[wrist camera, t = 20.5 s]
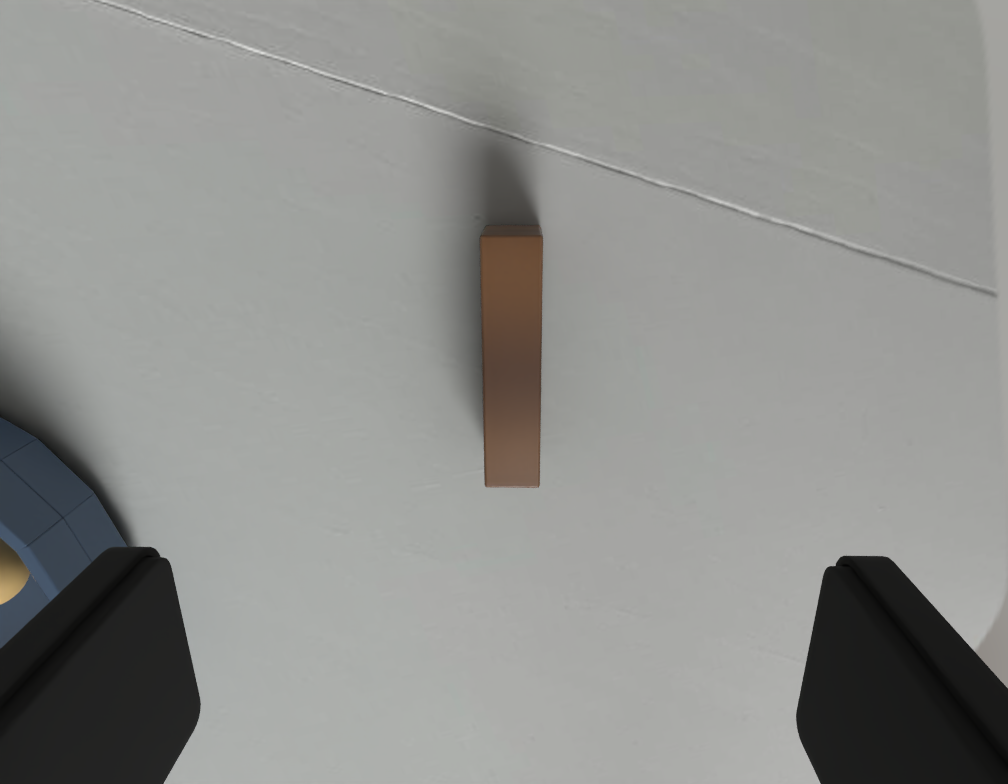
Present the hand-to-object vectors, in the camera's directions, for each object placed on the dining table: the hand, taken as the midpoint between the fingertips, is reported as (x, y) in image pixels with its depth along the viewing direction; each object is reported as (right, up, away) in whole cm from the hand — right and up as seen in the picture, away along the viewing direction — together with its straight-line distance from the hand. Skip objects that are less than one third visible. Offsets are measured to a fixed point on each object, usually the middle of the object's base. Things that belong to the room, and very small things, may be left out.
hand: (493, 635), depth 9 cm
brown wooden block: (+1, +5, +15) cm, 16 cm away
